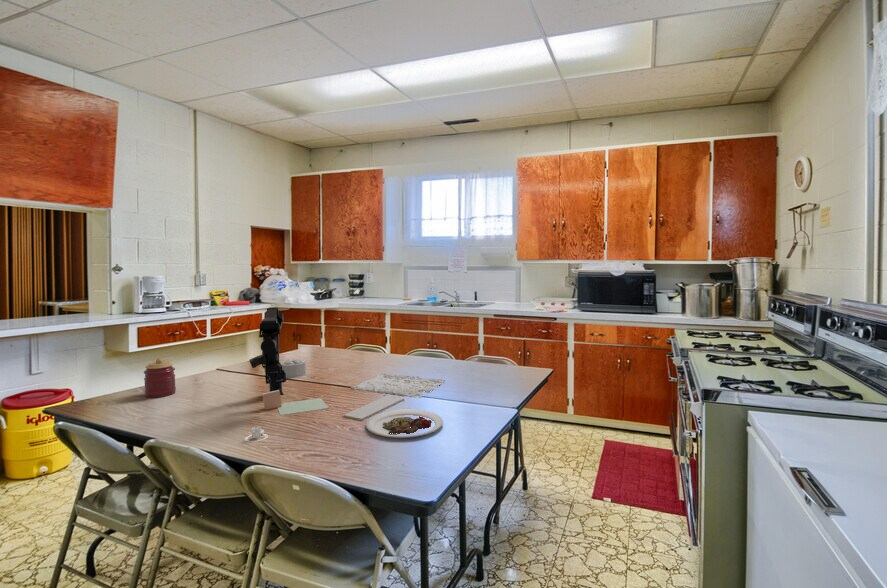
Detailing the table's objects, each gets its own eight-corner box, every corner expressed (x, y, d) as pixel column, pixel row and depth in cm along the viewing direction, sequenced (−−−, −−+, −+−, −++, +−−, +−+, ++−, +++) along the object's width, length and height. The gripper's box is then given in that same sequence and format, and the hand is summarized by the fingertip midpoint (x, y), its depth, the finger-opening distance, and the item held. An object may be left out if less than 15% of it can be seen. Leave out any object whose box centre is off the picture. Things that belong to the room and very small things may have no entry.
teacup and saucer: (257, 432, 174) (257, 422, 174) (274, 435, 171) (273, 425, 171) (239, 441, 166) (239, 430, 166) (256, 444, 163) (256, 433, 163)
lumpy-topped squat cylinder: (308, 374, 261) (307, 359, 261) (289, 379, 250) (289, 363, 250) (296, 371, 267) (295, 357, 266) (277, 376, 256) (276, 361, 255)
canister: (149, 391, 227) (147, 356, 226) (178, 389, 231) (177, 354, 230) (141, 399, 215) (139, 362, 214) (172, 396, 219) (170, 360, 218)
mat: (275, 405, 205) (275, 404, 205) (321, 399, 214) (321, 398, 214) (280, 416, 191) (280, 414, 191) (328, 408, 200) (328, 407, 200)
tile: (264, 408, 200) (262, 393, 200) (281, 405, 204) (279, 389, 203) (264, 410, 199) (262, 394, 198) (281, 406, 202) (279, 391, 201)
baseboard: (339, 417, 191) (361, 422, 185) (338, 410, 191) (361, 415, 185) (383, 397, 218) (404, 401, 212) (383, 391, 218) (404, 395, 212)
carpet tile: (445, 383, 243) (445, 379, 243) (420, 399, 215) (420, 395, 215) (382, 376, 259) (381, 372, 259) (350, 390, 231) (350, 386, 231)
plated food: (355, 421, 185) (355, 413, 185) (421, 409, 200) (421, 401, 200) (383, 448, 159) (383, 438, 159) (457, 431, 174) (457, 423, 174)
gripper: (248, 346, 204) (249, 381, 205) (251, 354, 187) (253, 392, 188) (275, 344, 209) (276, 378, 210) (280, 352, 192) (281, 388, 193)
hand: (271, 384), depth 200 cm, fingers open, 9 cm apart
